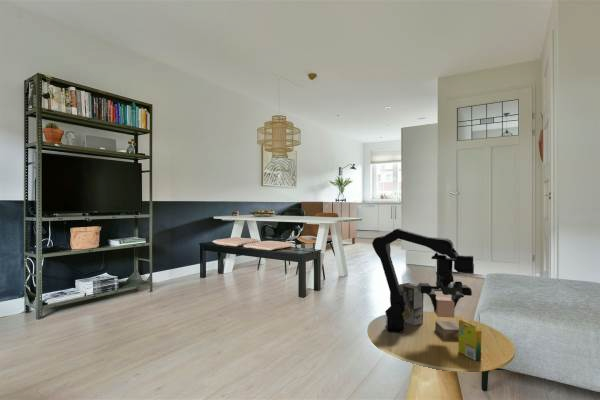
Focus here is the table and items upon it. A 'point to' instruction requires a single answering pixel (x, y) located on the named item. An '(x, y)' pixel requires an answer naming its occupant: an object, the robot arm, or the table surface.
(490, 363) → the table surface
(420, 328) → the table surface
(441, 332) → the walnut block
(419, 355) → the table surface
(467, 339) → the crayon box
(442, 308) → the pink cube
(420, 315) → the coffee box
